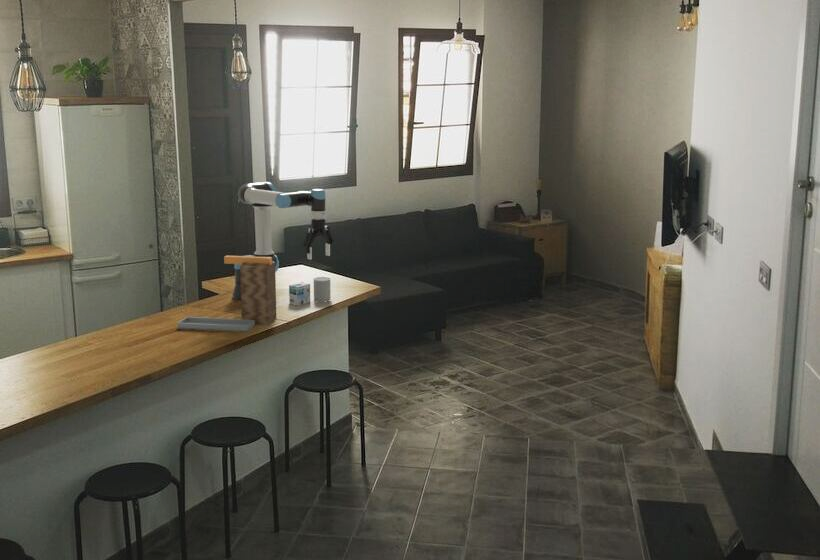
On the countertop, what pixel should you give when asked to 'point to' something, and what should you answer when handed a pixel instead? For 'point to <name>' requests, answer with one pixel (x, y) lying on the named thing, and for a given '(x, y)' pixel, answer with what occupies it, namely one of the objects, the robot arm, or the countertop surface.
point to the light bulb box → (299, 293)
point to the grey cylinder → (322, 289)
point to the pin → (246, 259)
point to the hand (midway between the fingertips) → (318, 257)
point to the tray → (216, 324)
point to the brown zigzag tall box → (258, 292)
